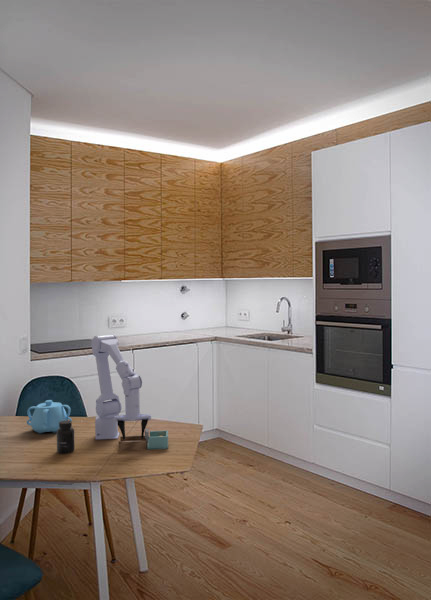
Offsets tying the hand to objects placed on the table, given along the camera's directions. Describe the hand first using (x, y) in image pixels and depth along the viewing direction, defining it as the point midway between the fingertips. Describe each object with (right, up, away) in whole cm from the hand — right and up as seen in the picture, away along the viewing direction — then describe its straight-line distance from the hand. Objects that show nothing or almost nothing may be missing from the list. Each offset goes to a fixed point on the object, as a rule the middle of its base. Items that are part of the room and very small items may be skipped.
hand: (133, 438), depth 211 cm
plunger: (+5, -1, +1) cm, 6 cm away
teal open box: (+10, -3, +1) cm, 11 cm away
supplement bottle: (-26, -5, -4) cm, 27 cm away
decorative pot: (-42, -3, +26) cm, 50 cm away
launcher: (0, -4, 0) cm, 4 cm away
